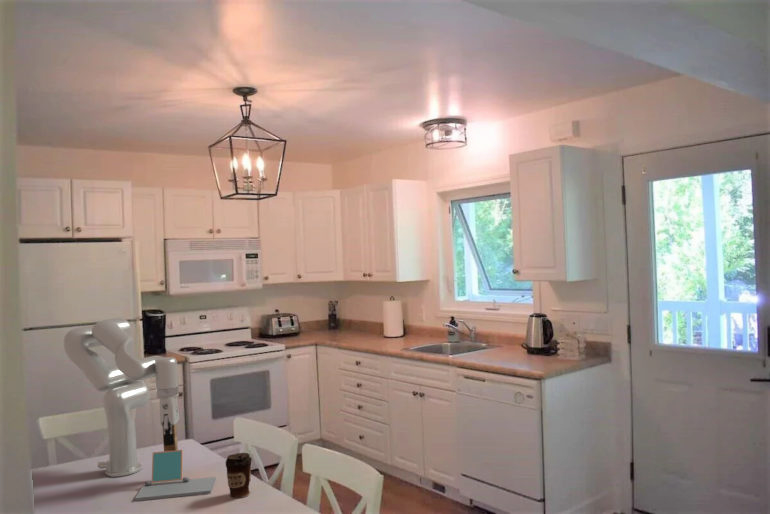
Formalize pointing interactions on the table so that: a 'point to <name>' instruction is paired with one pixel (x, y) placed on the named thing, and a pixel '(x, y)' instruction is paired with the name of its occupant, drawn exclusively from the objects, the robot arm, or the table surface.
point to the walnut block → (175, 445)
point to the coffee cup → (239, 474)
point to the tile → (167, 466)
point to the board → (175, 488)
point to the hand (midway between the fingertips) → (170, 442)
